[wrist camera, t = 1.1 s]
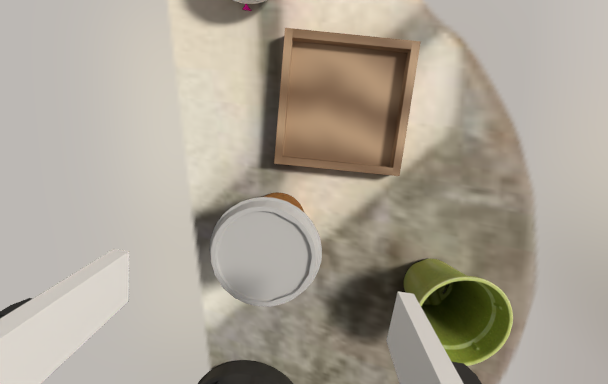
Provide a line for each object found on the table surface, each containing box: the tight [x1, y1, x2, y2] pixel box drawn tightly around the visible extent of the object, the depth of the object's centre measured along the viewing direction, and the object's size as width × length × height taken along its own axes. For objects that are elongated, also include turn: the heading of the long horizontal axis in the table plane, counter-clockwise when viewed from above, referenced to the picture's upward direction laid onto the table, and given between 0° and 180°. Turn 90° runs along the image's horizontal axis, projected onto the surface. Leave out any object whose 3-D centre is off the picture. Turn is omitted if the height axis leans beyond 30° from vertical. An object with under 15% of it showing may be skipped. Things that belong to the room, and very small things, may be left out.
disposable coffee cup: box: [210, 193, 322, 306], centre depth 31 cm, size 10×10×12 cm
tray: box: [274, 28, 420, 176], centre depth 33 cm, size 14×14×2 cm
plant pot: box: [404, 259, 513, 366], centre depth 33 cm, size 9×9×9 cm
